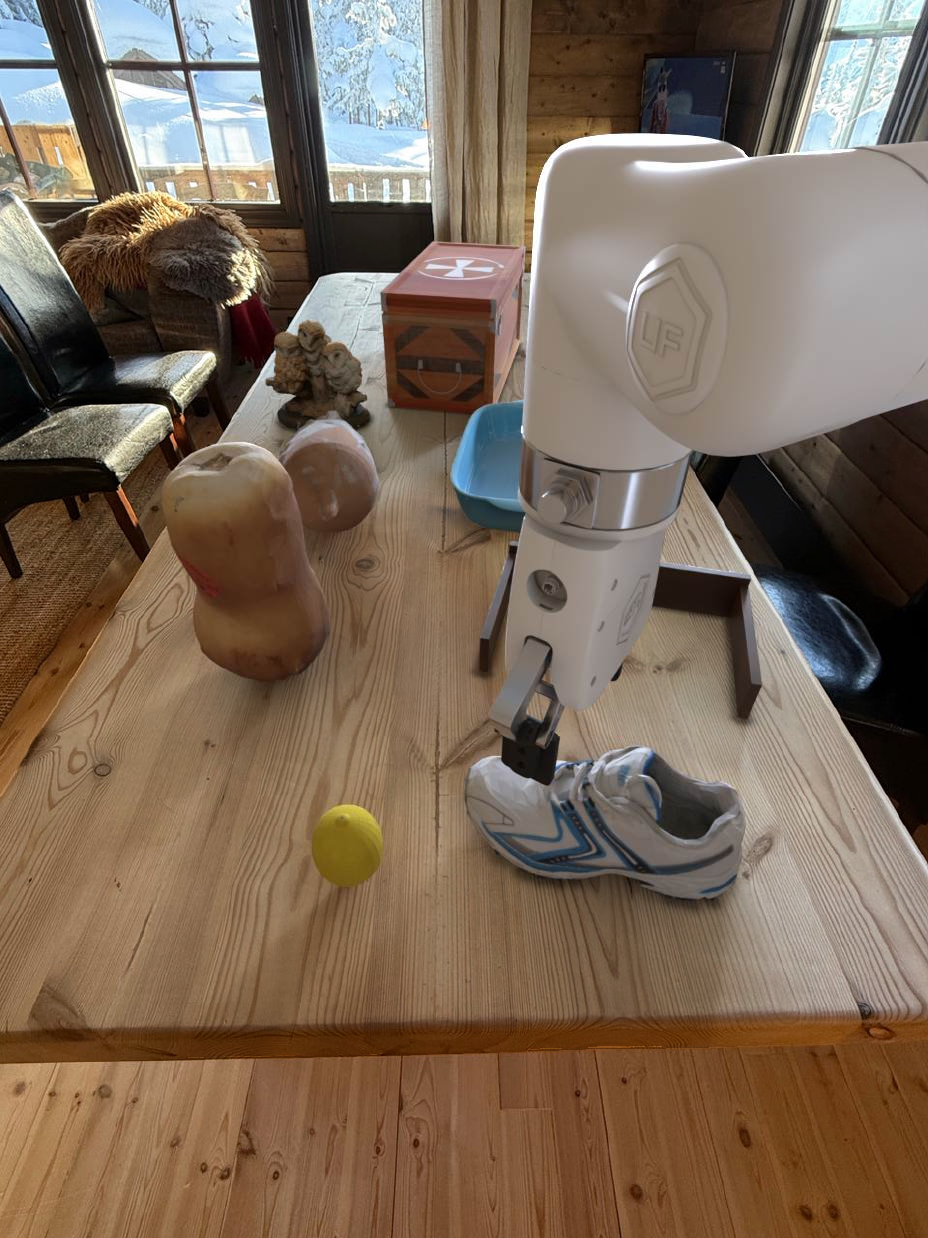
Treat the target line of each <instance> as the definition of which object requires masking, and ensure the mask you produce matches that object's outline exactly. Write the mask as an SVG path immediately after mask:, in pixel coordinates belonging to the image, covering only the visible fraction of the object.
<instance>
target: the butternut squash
mask: <svg viewBox="0 0 928 1238" xmlns="http://www.w3.org/2000/svg"><path fill="white" fill-rule="evenodd" d="M278 459H279V458H277V457H276V456H275V455H274V454H273V453H272V452H270V451H269V450H268V449H267V448H264V447H262V446H260V445H256V444H254V443H252V442H248V441H233V442H221V443H214V444H211V445H209V446H206V447H204V448H201V449H199V450H196V451H194V452H192V453H190V454H189V455H188V456H186V457H185V458H183V460H181V461H180V462H179V463H178V464H177V466H175V467H174V469H173V470H172V471H171V472H170V473H169V474H168V475H167V477H166V479H165V481H164V483H163V485H162V490H161V508H162V513H163V516H164V522H165V526H166V529H167V533H168V537H169V540H170V545H171V548H172V549H173V552H174V553H175V555H176V557H177V559H178V560H179V562H180V564H181V565H182V567H183V569H184V570H185V571H186V573H187V574H188V576H189V577H190V579H191V581H192V582H193V583H194V585H195V587H196V592H195V595H194V602H193V609H192V621H193V629H194V633H195V636H196V639H197V641H198V644H199V647H200V651H201V653H203V655H205V657H207V658H208V659H209V660H210V661H211V662H213V663H214V664H215V665H217V666H218V667H219V668H221V669H224V670H227V671H228V672H230V673H232V674H234V675H236V676H239V677H241V678H244V679H248V680H253V681H257V682H259V683H264V682H274V681H278V682H284V681H286V680H287V679H288V678H291V677H292V676H295V675H301V674H302V673H303V672H304V671H305V670H307V669H308V668H309V667H310V665H312V663H313V662H314V661H315V660H316V659H317V657H318V656H319V654H320V653H321V652H322V650H323V649H324V647H325V645H326V642H327V639H328V637H329V635H330V633H331V631H330V609H329V606H328V602H327V599H326V596H325V592H324V589H323V588H322V586H321V584H320V582H319V580H318V578H317V576H316V573H315V571H314V569H313V568H312V566H311V564H310V561H309V559H308V556H307V550H306V544H305V535H304V527H303V526H302V519H301V515H300V512H299V508H298V505H297V501H296V498H295V495H294V492H293V484H292V481H291V478H290V476H289V474H288V473H287V472H286V470H285V469H284V468H283V466H282V465H281V463H280V462H279V461H278Z"/></svg>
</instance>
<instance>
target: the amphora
mask: <svg viewBox="0 0 928 1238" xmlns="http://www.w3.org/2000/svg"><path fill="white" fill-rule="evenodd" d="M277 459H278V461H279V462H280V463H281V465H282V466H283V468H284V469H285V470H286V472H287V473H288V474H289V476H290V478H291V481H292V484H293V492H294V495H295V498H296V501H297V505H298V508H299V512H300V515H301V519H302V526H303V528H305V529H307V530H309V531H311V532H313V533H318V534H341V533H345V532H348V531H351V530H353V529H354V528H356V527H358V526H360V524H362V522H364V520H366V519H367V517H368V516H369V515H370V513H371V512H372V510H373V509H374V507H376V504H377V499H378V495H379V491H380V480H379V475H378V471H377V467H376V464H375V460H374V457H373V455H372V452H371V451H370V449H369V447H368V445H367V443H366V440H365V438H364V437H363V436H362V435H361V434H360V433H359V432H358V431H356V429H353V428H352V426H350V425H349V424H348V423H347V422H346V421H344V420H343V419H341V418H340V416H339V414H338V412H337V411H328V412H327V414H326V415H324V416H321V417H319V418H318V419H316V420H312V419H311V420H309V421H307V422H306V424H305V425H304V426H303V427H301V428H300V427H299V428H298V429H297V430H296V432H295V433H294V434H293V436H291V438H290V441H289V442H287V443H286V444H285V445H284V447H283V448H282V449H280V450H279V458H277Z"/></svg>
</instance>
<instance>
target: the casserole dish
mask: <svg viewBox="0 0 928 1238" xmlns="http://www.w3.org/2000/svg"><path fill="white" fill-rule="evenodd" d="M523 403H524V399H518V400H514V401H508V402H507V401H505V402H503V401H502V402H497V403H493V404H488V405H485V406H483V407H481V408H479V409H477V410H476V411H475V412H474V413H473V414H471V415H470V417H469V418H468V421H467V422H466V425H465V427H464V429H463V432H462V436H461V438H460V441H459V444H458V447H457V450H456V453H455V456H454V460H453V461H452V462H453V463H452V465H451V471H450V481H451V485H452V487H453V490H454V493H455V496H456V499H457V502H458V505H459V506H460V510H461V511H462V513H463V515H464V516H465V517H466V518H467V519H468V521H470V522H471V523H472V524H475V525H476V526H478V527H480V528H483V529H487V530H493V531H498V532H499V531H500V532H507V533H516V534H517V533H519V534H520V533H521V528H522V523H523V519H524V516H525V514H526V512H525V511H524V510H523V508H522V507H521V505H520V503H519V500H518V482H519V468H520V452H521V435H522V421H523Z"/></svg>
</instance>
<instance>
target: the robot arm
mask: <svg viewBox="0 0 928 1238" xmlns="http://www.w3.org/2000/svg"><path fill="white" fill-rule="evenodd" d="M529 287H530V288H529V301H528V302H529V303H528V319H527V335H526V352H525V368H524V371H525V372H524V388H523V400H524V403H523V421H522V435H521V452H520V468H519V482H518V500H519V503H520V505H521V507H522V508H523V510H524V511H525V512H526V514H525V516H524V519H523V523H522V528H521V533H519V537H518V542H519V544H518V549H517V554H516V560H515V566H514V572H513V579H512V585H511V593H510V600H509V604H508V608H507V616H506V617H507V620H506V629H505V643H504V645H505V646H504V663H505V664H504V665H505V672H506V676H507V678H506V679H505V681H504V683H503V685H502V687H501V688H500V691H499V693H498V694H497V696H496V698H495V700H494V702H493V704H492V705H491V707H490V710H489V712H488V717H487V719H488V721H489V723H490V724H491V726H492V727H493V731H494V733H497V734H500V735H501V753H500V756H501V761H502V763H503V764H504V765H506V766H507V767H509V768H510V769H511V770H512V771H513V772H514V773H516V774H518V775H520V776H522V777H524V778H528V779H529V778H531V779H533V780H535V781H537V782H539V783H541V784H543V785H545V786H549V785H550V784H551V782H552V781H553V779H554V776H555V769H556V762H557V761H558V756H559V755H558V754H559V749H560V748H559V747H560V741H561V736H560V735H559V734H558V733H557V732H556V730H557V728H558V725H559V722H560V720H561V718H562V715H563V712H564V710H565V708H567V709H569V710H572V711H574V712H575V713H576V712H577V713H580V712H583V711H586V710H588V709H589V708H591V707H592V706H593V705H595V703H597V701H598V699H599V698H600V697H601V695H602V694H603V692H604V691H605V690H606V688H607V687H608V685H609V683H610V682H617V681H618V680H619V678H620V677H621V674H622V669H623V665H624V662H625V660H626V657H627V656H628V655H629V653H630V652H631V650H632V648H633V647H634V645H636V643H637V640H638V639H639V638H640V636H641V634H642V632H643V630H644V629H645V627H646V625H647V623H648V621H649V618H650V615H651V612H652V608H653V606H652V603H653V598H654V593H655V588H656V582H657V577H658V571H659V566H660V562H661V559H662V554H663V548H664V543H665V537H666V530H667V527H669V526H671V525H672V524H673V522H674V521H675V520H676V518H677V517H678V514H679V511H680V508H681V503H682V498H683V494H684V490H685V486H686V482H687V477H688V473H689V470H690V465H691V461H692V457H693V453H694V452H699V453H701V454H706V455H709V456H717V457H727V458H728V457H729V458H731V457H742V456H743V457H744V456H753V455H757V454H761V453H766V452H770V451H774V450H778V449H780V448H784V447H787V446H790V445H793V444H795V443H798V442H802V441H805V440H808V439H811V438H814V437H817V436H820V435H824V434H827V433H830V432H834V431H836V430H839V429H842V428H846V427H848V426H852V425H853V424H855V423H858V422H859V421H862V420H865V419H867V418H871V417H874V416H878V415H881V414H884V413H888V412H890V411H892V410H897V409H900V408H903V407H906V406H910V405H912V404H915V403H918V402H922V401H925V400H928V140H924V141H913V142H901V143H889V144H875V145H864V146H863V145H862V146H854V147H853V146H852V147H847V148H839V149H832V150H820V151H807V152H795V153H794V152H793V153H780V154H771V155H759V156H751V157H748V156H747V155H746V154H745V152H744V150H742V149H740V148H739V147H737V146H735V145H733V144H731V143H729V142H728V141H723V140H719V139H714V138H710V137H703V136H695V135H686V134H685V135H683V134H666V133H665V134H664V133H663V134H661V133H613V134H599V135H594V136H593V135H592V136H586V137H582V138H577V139H574V140H571V141H569V142H567V143H565V144H563V145H561V146H560V147H558V148H557V149H556V150H555V151H554V152H553V153H552V154H551V155H550V157H549V158H548V160H547V162H546V163H545V164H544V167H543V169H542V172H541V175H540V177H539V181H538V185H537V190H536V197H535V207H534V223H533V239H532V255H531V270H530V285H529ZM548 669H549V676H550V679H551V682H548V681H546V680H544V677H545V675H546V673H547V671H548ZM535 694H539V695H541V696H543V697H545V698H547V699H549V700H550V701H549V704H548V705H547V709H546V712H545V714H544V716H543V719H542V720H541V719H539V718H537V717H535V716H533V715H530V714H528V708H529V706H530V704H531V702H532V700H533V698H534V696H535Z"/></svg>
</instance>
